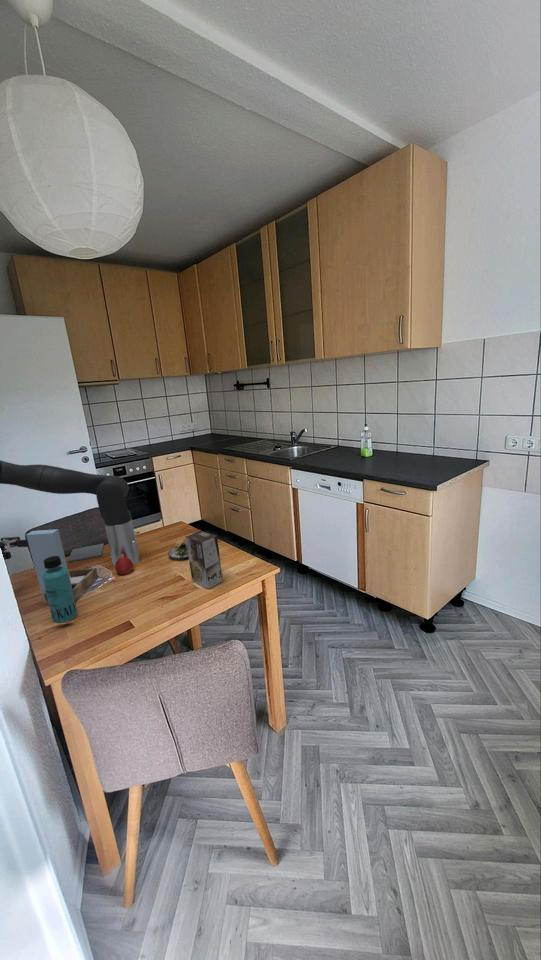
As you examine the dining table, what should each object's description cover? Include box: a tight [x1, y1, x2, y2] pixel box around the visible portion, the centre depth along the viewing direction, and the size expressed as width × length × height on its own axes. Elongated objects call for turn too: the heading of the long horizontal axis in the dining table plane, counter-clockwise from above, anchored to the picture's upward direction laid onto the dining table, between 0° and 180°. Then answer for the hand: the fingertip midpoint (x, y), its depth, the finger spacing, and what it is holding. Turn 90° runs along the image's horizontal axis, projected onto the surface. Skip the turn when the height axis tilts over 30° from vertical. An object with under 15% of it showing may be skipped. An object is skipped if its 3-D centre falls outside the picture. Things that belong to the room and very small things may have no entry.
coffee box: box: [184, 530, 224, 590], centre depth 123 cm, size 9×6×16 cm
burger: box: [167, 539, 188, 562], centre depth 146 cm, size 12×12×8 cm
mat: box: [67, 543, 105, 563], centre depth 155 cm, size 12×12×1 cm
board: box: [25, 528, 73, 604], centre depth 116 cm, size 8×3×24 cm, turn 88°
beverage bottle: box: [42, 556, 78, 624], centre depth 107 cm, size 6×7×20 cm
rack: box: [44, 567, 99, 606], centre depth 123 cm, size 16×9×5 cm, turn 178°
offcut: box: [70, 576, 85, 583], centre depth 126 cm, size 5×6×2 cm
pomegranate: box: [114, 554, 134, 576], centre depth 133 cm, size 6×6×8 cm
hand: (19, 548), depth 116 cm, fingers open, 8 cm apart
